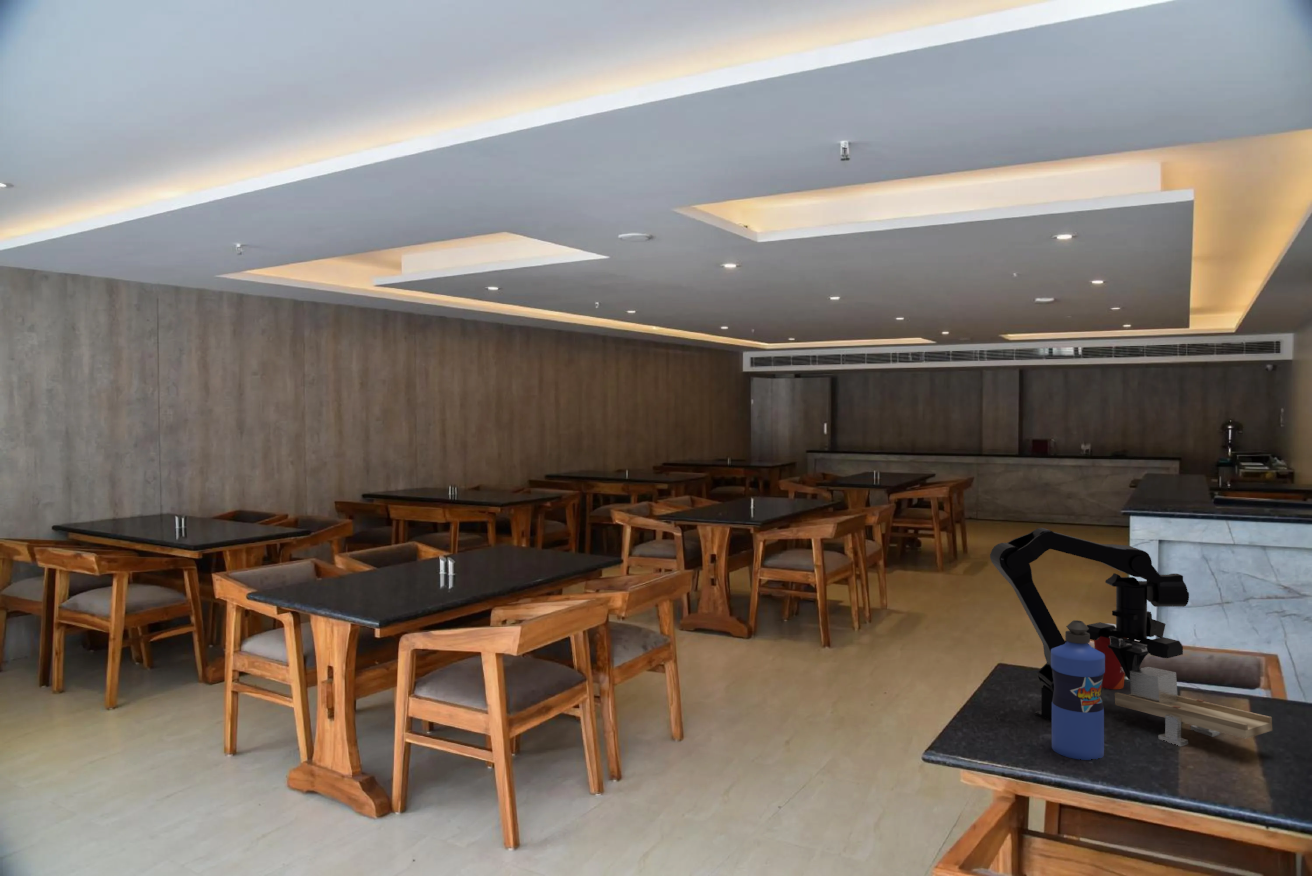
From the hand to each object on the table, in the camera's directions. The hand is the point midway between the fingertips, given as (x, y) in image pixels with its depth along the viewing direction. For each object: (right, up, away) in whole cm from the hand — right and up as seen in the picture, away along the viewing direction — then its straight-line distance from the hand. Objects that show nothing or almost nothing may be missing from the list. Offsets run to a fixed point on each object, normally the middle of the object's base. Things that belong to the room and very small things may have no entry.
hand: (1131, 679), depth 183 cm
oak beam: (+6, -4, -11) cm, 13 cm away
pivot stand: (+6, -8, -11) cm, 15 cm away
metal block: (+2, -3, -4) cm, 6 cm away
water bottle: (-19, -9, -17) cm, 27 cm away
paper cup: (+6, -7, +21) cm, 23 cm away
